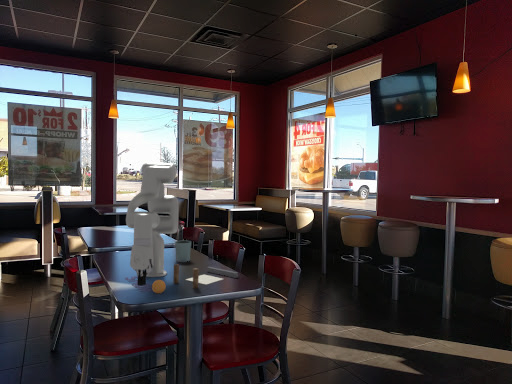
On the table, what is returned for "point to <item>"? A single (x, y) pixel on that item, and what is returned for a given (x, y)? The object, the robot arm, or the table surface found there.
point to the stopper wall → (222, 272)
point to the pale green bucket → (183, 250)
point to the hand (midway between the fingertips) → (141, 284)
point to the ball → (158, 286)
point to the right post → (195, 277)
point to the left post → (176, 274)
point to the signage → (138, 285)
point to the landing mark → (206, 279)
